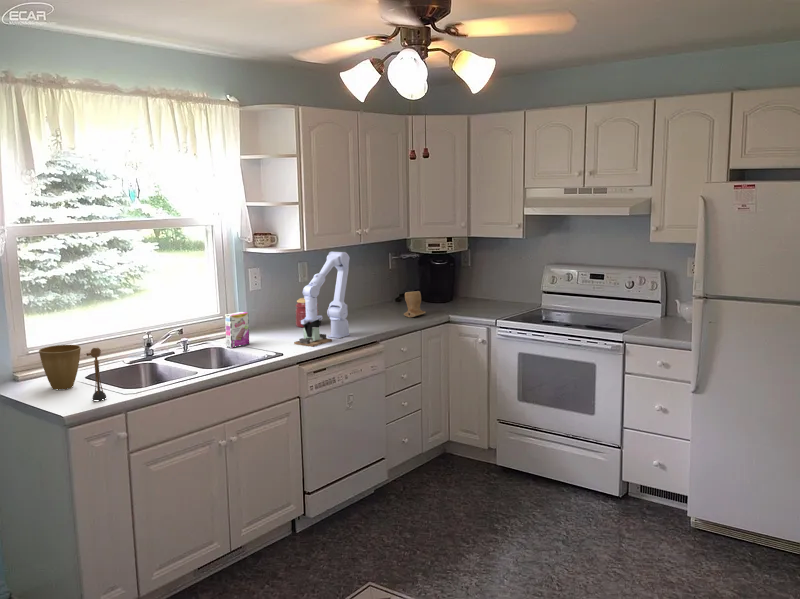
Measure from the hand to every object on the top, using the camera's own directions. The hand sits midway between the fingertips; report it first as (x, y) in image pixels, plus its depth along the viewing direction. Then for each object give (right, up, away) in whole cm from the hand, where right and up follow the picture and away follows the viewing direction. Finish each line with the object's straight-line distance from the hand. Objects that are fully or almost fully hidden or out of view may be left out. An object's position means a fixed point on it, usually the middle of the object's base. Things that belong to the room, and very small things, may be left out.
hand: (312, 336), depth 357 cm
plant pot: (-90, -17, -74) cm, 117 cm away
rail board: (0, -3, +1) cm, 3 cm away
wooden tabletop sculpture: (-68, -19, -91) cm, 116 cm away
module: (0, -2, 0) cm, 2 cm away
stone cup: (+52, +8, +70) cm, 88 cm away
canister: (-8, +3, +45) cm, 46 cm away
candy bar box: (-36, -5, -4) cm, 37 cm away
